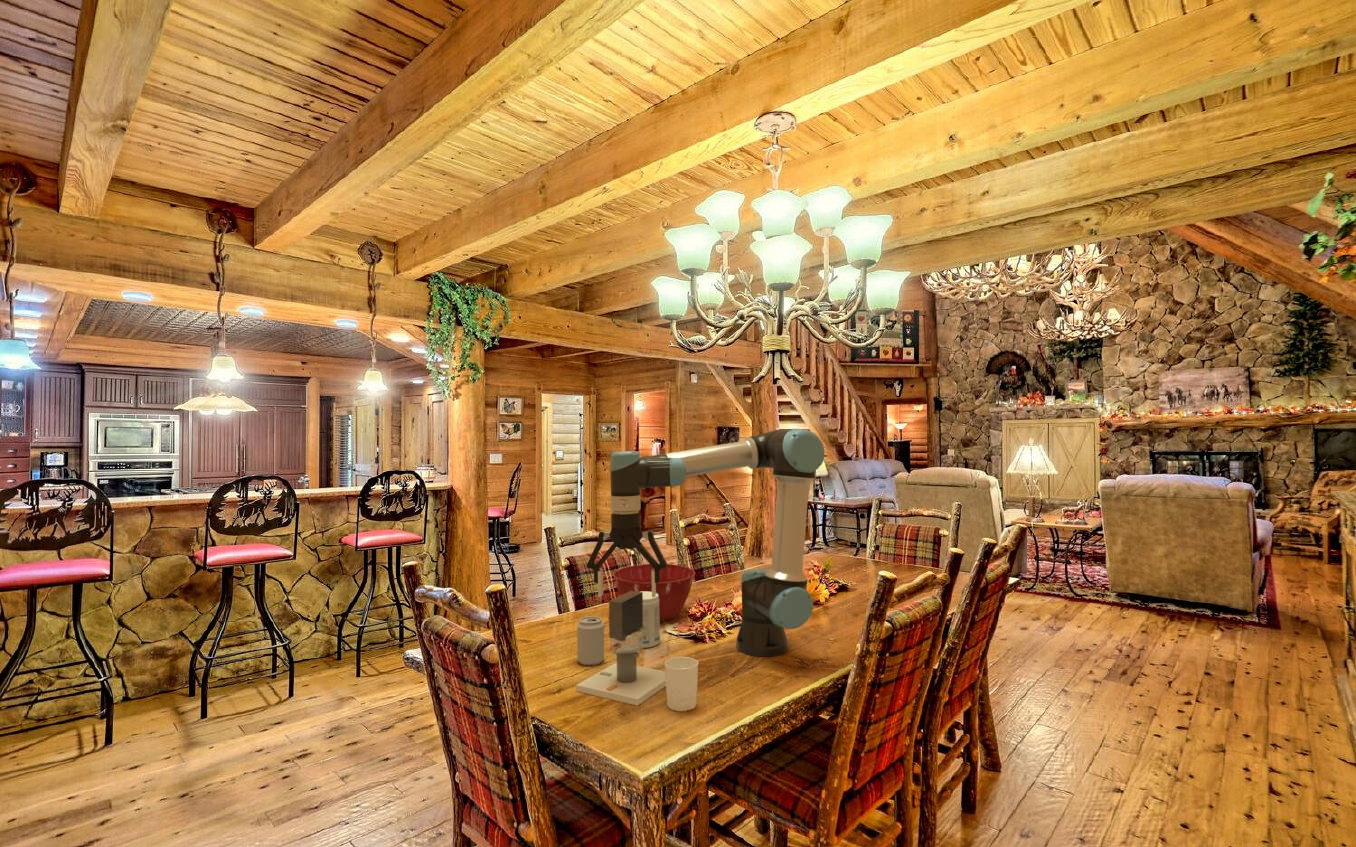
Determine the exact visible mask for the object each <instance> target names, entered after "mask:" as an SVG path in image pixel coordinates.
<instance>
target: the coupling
mask: <svg viewBox="0 0 1356 847" xmlns="http://www.w3.org/2000/svg"><path fill="white" fill-rule="evenodd" d="M608 609H609V610H608V611H609V612H608V623H609V626H608V628H609V629H608V632H609V633H608V634H609V636H608V637H609V639H610V650H611V651H612V652H613V653H614V652H616V653H622V654H628V653H635V652H637V653H639V652H640V651H641V650H643V648H642V630H640V628H642V627H643V592H636V591H629V592H627V593H625V594H623V595H621V596H620V595H619V596H617V597H614V598H612V599H610V600H609V601H608Z"/></svg>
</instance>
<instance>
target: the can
mask: <svg viewBox="0 0 1356 847" xmlns="http://www.w3.org/2000/svg"><path fill="white" fill-rule="evenodd" d="M602 620H603V619H602V617H600V616H595V615H594V616H592V615H590V616H584V617H581V618H580V619H579V622H578V623H577V625H576V627H577V628H576V630H577V632H576V638H577V639H576V641H577V642H576V643H577V645H576V648H577V651H576V653H577V654H576V655H577V656H576V658H577V659H576V660H577V662H579V663H580V665H582V664H583V665H582V666H586V665H588V666H589V667H591V666H590V665H593V666H597V665H599V664H601V663H602V662H603V661H604V660H605V623H604V622H603V621H602Z"/></svg>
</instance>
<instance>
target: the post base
mask: <svg viewBox="0 0 1356 847" xmlns="http://www.w3.org/2000/svg"><path fill="white" fill-rule="evenodd" d="M613 654H614V655H616V662H614V663H613V664H611V665H609V666H607V667H606V668H604V669H602V670H600V671H599V672H597V673H595V674H593V675H592V676H589V677H588V678H586V679H584V680H582V681H581V682H579V683H577V684H575V685H576V686H575V688H576V689H575V692H578V693H582V694H586V695H591V696H595V697H599V698H603V699H608V700H613V701H616V702H620V703H625V704H629V705H633V706H636V707H638V706H640V705H641V704H642V703H644V702H646V701H647V700H648V699H649V698H651V697H652V696H654V695H655V694H656V693H658V692H659V691H661V690H662V689H664V688H666V683H665V670H661V669H655V668H650V667H644V666H640V665H638V664H637V662H638V660H637V659H638V658H640V652H635V653H628V654H622V653H616V652H613Z"/></svg>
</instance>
